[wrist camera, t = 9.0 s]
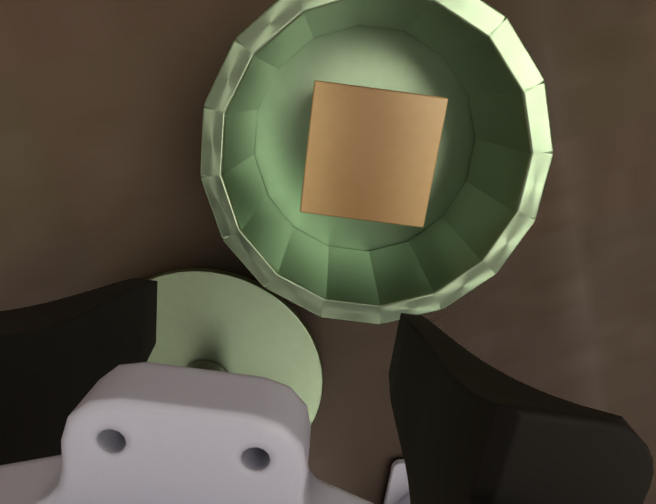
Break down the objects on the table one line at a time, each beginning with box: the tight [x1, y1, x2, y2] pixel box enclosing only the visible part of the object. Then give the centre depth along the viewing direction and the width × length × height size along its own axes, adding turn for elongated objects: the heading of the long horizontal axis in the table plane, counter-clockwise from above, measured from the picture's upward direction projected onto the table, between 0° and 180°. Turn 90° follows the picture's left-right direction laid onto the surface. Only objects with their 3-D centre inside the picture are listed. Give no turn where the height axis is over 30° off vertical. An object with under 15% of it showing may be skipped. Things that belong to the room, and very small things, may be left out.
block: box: [300, 80, 448, 228], centre depth 18 cm, size 4×4×4 cm
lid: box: [147, 268, 323, 426], centre depth 22 cm, size 11×11×5 cm
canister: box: [200, 0, 554, 324], centre depth 17 cm, size 11×11×6 cm
